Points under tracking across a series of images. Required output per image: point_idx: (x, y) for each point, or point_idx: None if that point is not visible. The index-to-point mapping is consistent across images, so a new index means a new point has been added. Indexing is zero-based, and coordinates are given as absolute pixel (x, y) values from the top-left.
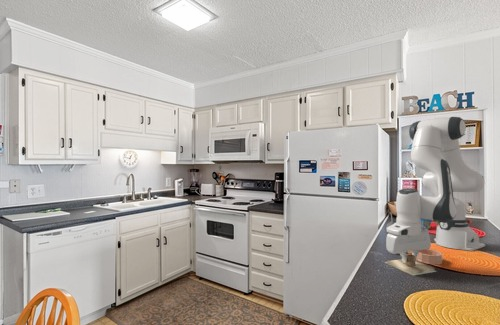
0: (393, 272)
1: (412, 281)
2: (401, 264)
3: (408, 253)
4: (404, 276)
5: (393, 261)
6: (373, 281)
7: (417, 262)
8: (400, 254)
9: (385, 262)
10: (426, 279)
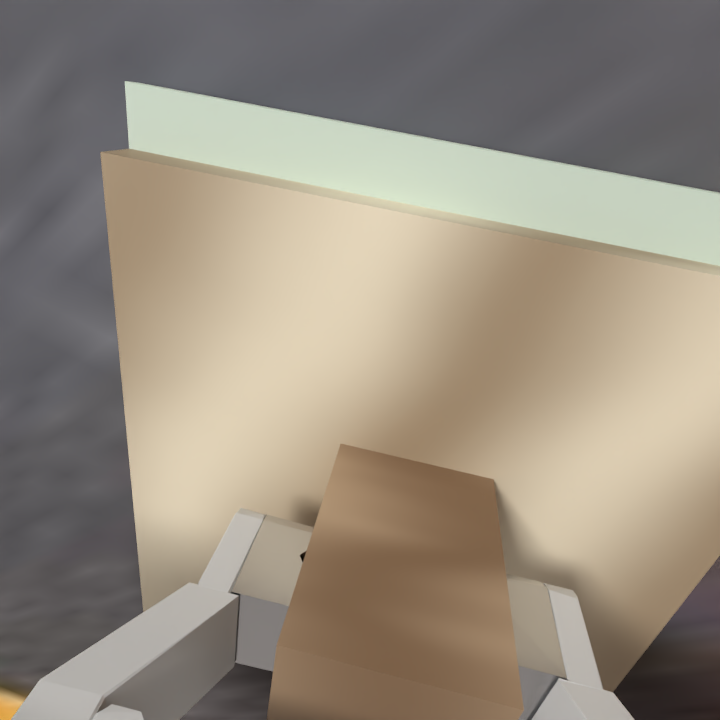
0: (16, 433)
1: (65, 625)
2: (273, 439)
3: (507, 705)
4: (72, 550)
5: (261, 261)
6: None
7: (675, 552)
8: (83, 666)
9: (142, 106)
10: (239, 678)
